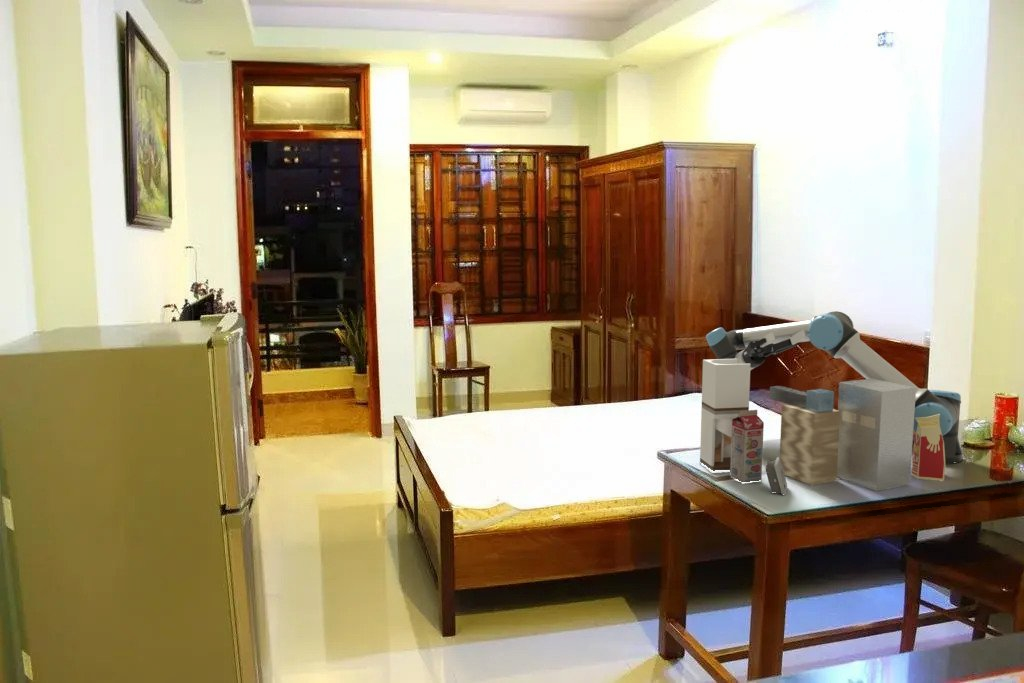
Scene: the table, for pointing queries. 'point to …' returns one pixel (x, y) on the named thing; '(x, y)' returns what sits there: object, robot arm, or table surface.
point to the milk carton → (928, 450)
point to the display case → (721, 408)
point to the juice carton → (747, 446)
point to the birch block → (809, 444)
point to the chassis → (875, 433)
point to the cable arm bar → (804, 398)
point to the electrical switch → (776, 476)
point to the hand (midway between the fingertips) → (789, 334)
